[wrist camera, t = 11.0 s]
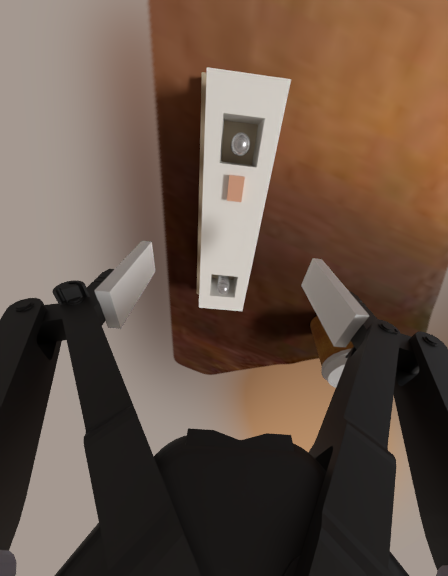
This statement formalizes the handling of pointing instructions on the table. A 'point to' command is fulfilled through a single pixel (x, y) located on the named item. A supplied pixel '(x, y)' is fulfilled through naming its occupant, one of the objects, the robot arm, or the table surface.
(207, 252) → the power strip
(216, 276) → the hanger board
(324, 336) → the disposable coffee cup
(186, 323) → the table surface
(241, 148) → the chrome knobs
